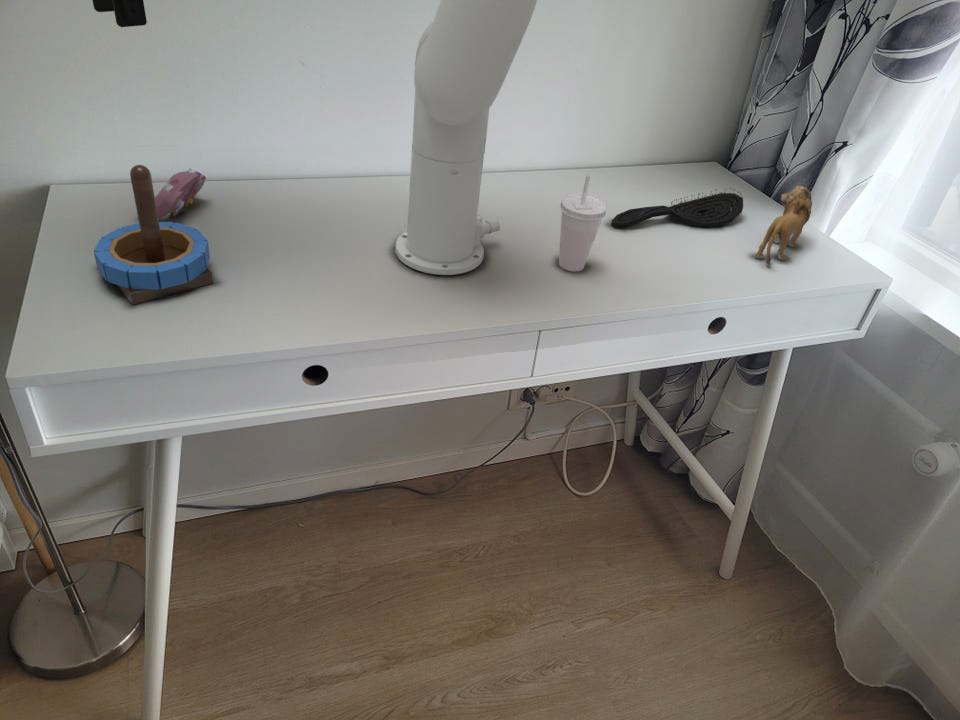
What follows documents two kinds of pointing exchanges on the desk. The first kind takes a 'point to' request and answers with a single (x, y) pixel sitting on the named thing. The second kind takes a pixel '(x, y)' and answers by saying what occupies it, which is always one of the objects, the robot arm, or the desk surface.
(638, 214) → the hairbrush
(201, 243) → the tape roll
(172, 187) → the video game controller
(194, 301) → the desk surface
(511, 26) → the robot arm
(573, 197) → the smoothie
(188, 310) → the desk surface
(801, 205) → the lion figurine
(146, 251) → the stand
